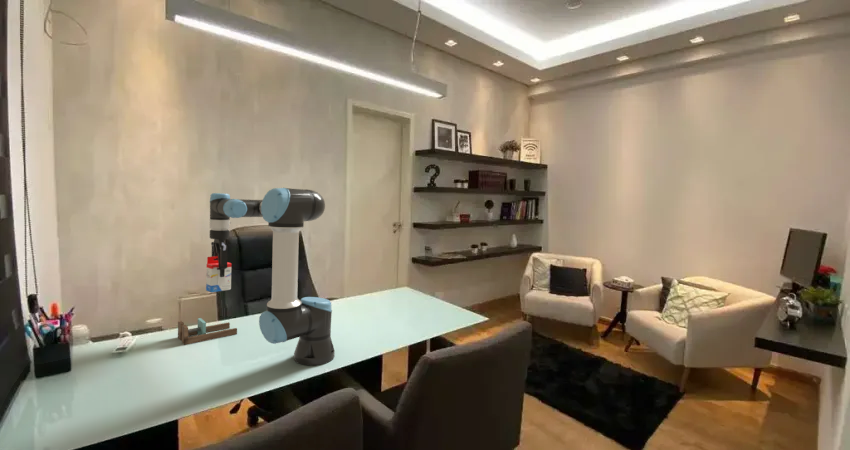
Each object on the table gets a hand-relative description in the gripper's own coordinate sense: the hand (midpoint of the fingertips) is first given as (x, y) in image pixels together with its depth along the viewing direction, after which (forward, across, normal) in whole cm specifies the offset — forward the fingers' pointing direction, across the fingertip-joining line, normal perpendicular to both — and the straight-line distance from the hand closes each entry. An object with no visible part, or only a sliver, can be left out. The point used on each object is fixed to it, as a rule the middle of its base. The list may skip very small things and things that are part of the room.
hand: (218, 282), depth 165 cm
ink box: (+3, 0, 0) cm, 3 cm away
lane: (+23, 0, +4) cm, 23 cm away
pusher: (+22, 0, +10) cm, 24 cm away
